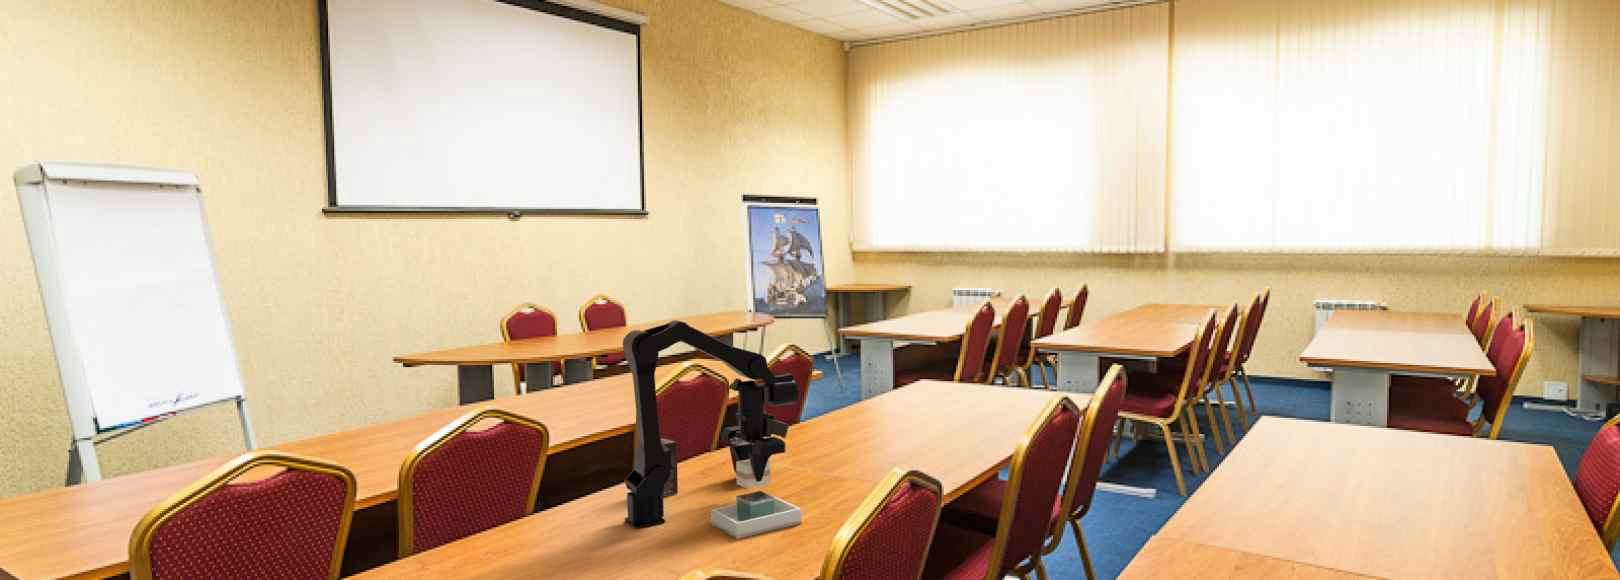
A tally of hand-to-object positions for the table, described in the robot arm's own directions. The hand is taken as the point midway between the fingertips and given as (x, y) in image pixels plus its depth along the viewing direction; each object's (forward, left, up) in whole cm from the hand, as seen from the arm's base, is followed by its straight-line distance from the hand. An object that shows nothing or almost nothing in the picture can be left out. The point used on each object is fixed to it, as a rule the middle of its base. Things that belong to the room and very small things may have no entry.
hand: (753, 478), depth 194 cm
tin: (-7, -12, -5) cm, 15 cm away
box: (-13, +19, -6) cm, 24 cm away
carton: (0, 0, -1) cm, 1 cm away
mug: (+7, +16, -6) cm, 19 cm away
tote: (-7, -13, -5) cm, 15 cm away
